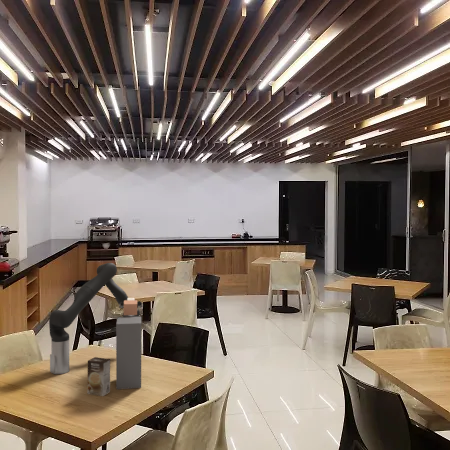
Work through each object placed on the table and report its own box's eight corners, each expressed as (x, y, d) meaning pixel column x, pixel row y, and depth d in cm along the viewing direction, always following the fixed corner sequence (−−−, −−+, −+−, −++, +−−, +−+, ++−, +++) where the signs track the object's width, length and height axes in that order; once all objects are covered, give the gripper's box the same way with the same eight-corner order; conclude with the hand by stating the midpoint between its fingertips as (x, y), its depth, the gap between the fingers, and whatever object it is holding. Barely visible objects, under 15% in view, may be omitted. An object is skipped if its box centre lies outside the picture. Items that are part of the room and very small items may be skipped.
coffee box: (86, 394, 228) (86, 360, 228) (94, 389, 234) (94, 356, 234) (103, 396, 225) (103, 362, 225) (110, 391, 231) (110, 358, 231)
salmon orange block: (124, 304, 272) (124, 294, 271) (137, 304, 273) (137, 294, 273) (123, 315, 254) (123, 304, 253) (137, 314, 255) (137, 303, 254)
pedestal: (118, 378, 250) (117, 317, 249) (141, 377, 252) (141, 316, 251) (116, 389, 234) (116, 324, 234) (141, 387, 236) (141, 323, 236)
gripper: (118, 302, 283) (118, 295, 267) (143, 302, 285) (143, 294, 270) (118, 315, 280) (117, 308, 264) (143, 314, 282) (143, 307, 267)
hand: (130, 301), depth 267 cm, fingers closed on salmon orange block, 4 cm apart
